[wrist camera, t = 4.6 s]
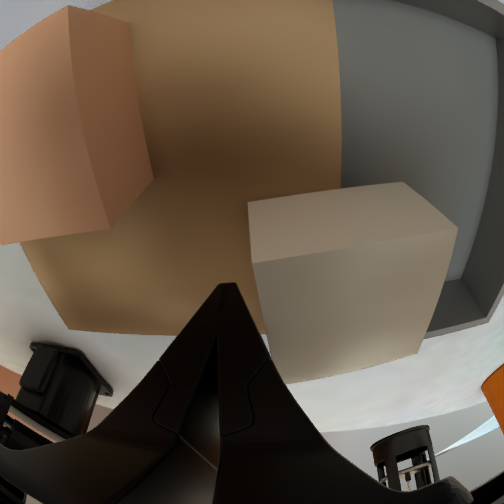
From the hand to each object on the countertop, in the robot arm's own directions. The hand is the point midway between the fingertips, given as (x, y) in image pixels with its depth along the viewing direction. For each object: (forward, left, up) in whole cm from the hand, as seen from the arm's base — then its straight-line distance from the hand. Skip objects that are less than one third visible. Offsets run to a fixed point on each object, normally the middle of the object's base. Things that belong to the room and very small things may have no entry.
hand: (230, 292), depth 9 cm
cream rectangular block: (0, -3, -1) cm, 4 cm away
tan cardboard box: (+6, +4, -1) cm, 8 cm away
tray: (+3, -8, -4) cm, 9 cm away
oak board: (+3, +3, -4) cm, 6 cm away
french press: (-36, -20, -4) cm, 41 cm away
